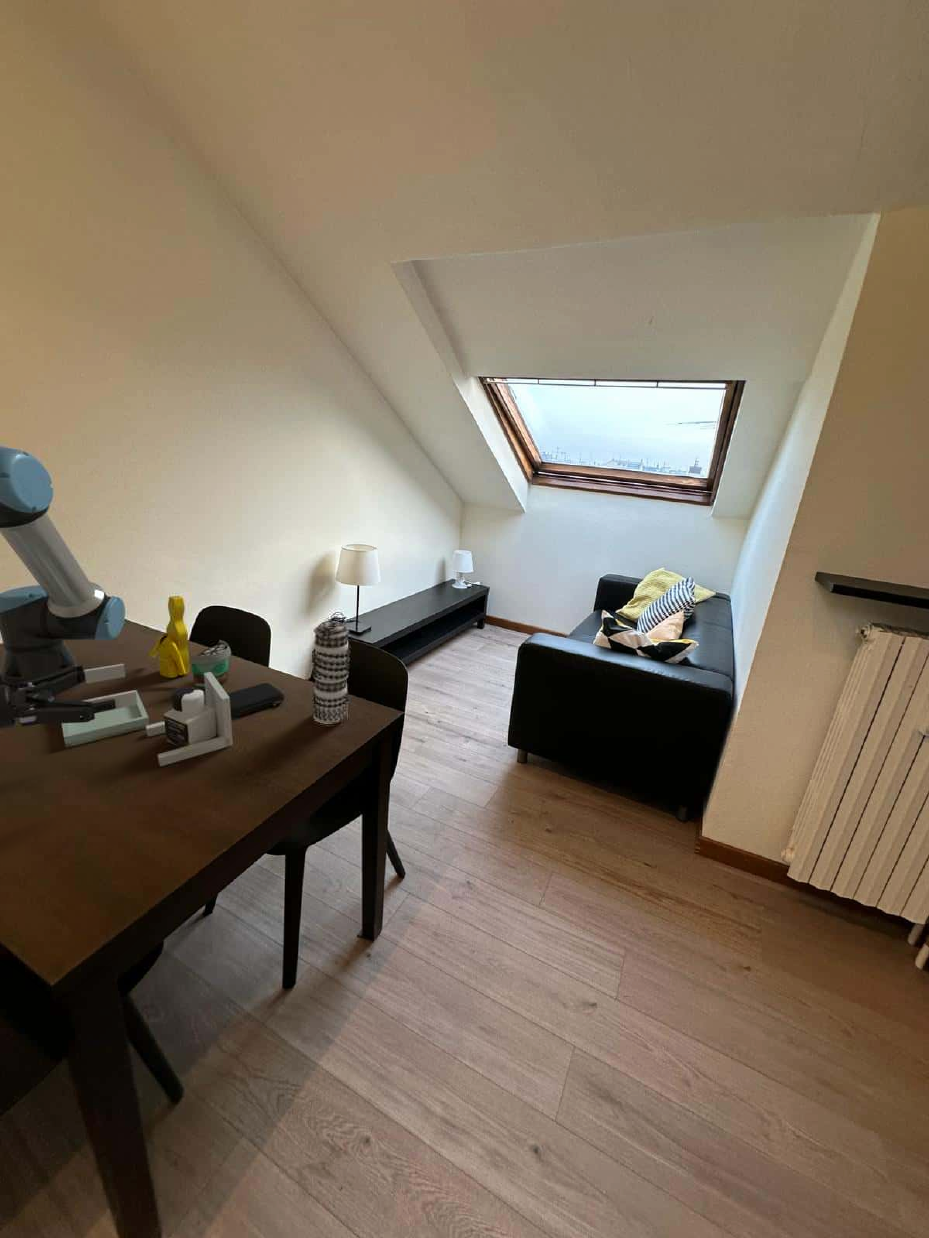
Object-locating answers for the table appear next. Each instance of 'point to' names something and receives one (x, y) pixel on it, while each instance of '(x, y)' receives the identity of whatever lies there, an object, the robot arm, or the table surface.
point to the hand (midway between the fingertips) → (130, 683)
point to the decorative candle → (330, 672)
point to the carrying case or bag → (254, 699)
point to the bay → (221, 705)
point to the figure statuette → (173, 642)
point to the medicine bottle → (189, 718)
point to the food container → (211, 664)
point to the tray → (106, 724)
